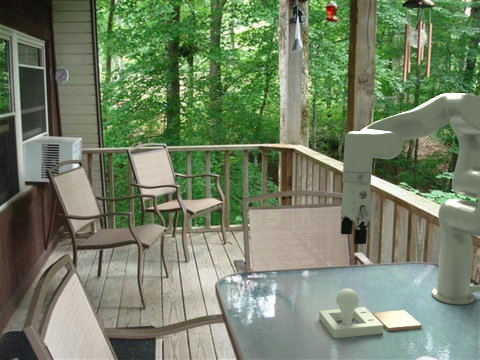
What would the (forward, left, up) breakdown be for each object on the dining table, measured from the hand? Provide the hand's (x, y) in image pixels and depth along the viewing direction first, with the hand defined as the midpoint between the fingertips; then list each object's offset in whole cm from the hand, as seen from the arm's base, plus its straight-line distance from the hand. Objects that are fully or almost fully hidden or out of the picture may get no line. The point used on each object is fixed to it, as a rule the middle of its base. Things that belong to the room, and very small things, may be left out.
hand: (352, 238), depth 143 cm
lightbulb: (+2, +2, -25) cm, 25 cm away
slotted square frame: (+1, +2, -25) cm, 25 cm away
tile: (-13, +2, -25) cm, 28 cm away
